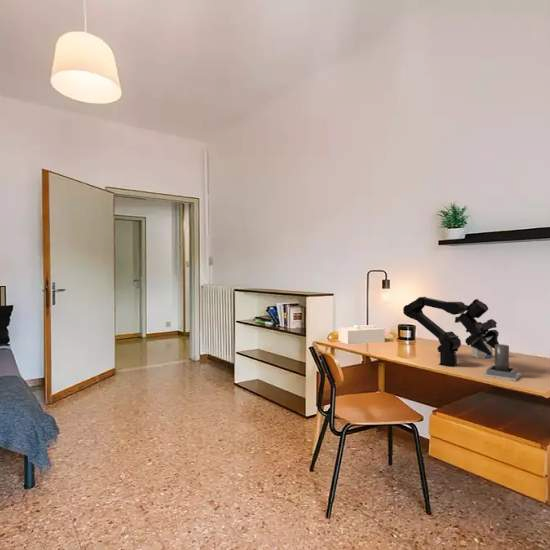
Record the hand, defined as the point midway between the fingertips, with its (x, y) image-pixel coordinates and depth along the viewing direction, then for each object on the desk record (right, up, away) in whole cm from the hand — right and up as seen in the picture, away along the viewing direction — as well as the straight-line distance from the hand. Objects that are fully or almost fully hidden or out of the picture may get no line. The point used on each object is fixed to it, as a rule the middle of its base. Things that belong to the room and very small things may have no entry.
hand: (495, 353), depth 170 cm
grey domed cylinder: (+1, -8, -2) cm, 9 cm away
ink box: (+12, -9, +34) cm, 37 cm away
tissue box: (-40, -9, +82) cm, 92 cm away
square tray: (+1, -9, -2) cm, 10 cm away
